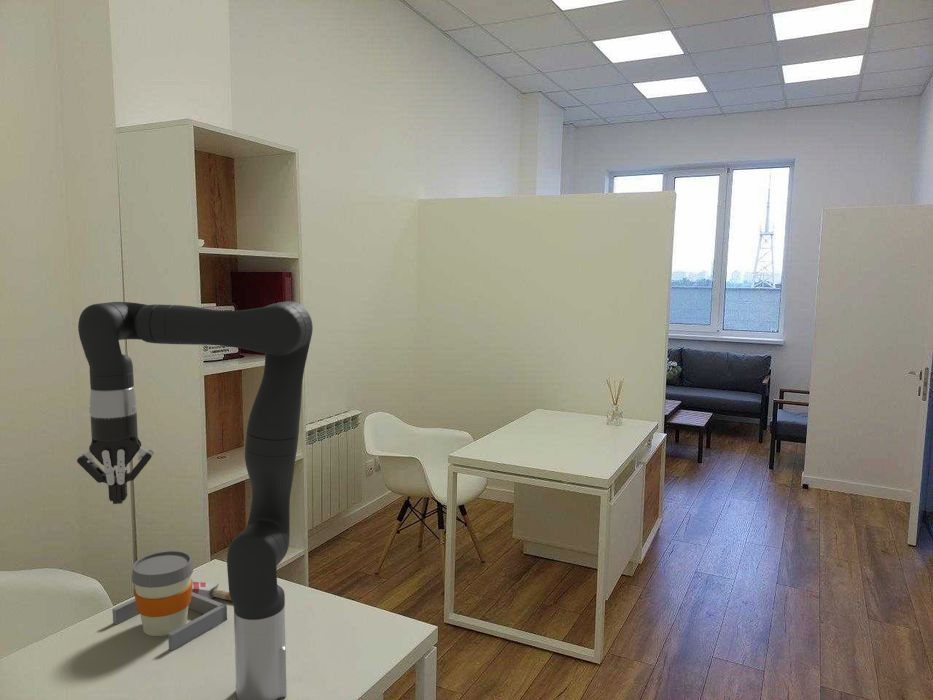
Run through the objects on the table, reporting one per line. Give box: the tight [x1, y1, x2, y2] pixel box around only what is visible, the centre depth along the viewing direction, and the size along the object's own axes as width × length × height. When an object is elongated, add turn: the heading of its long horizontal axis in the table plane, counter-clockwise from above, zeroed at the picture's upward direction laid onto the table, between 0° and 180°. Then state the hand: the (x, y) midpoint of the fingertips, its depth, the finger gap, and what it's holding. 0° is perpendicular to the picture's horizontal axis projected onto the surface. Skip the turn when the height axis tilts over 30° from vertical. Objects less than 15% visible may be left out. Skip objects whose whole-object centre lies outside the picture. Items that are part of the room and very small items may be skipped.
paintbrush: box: [192, 581, 232, 602], centre depth 163 cm, size 4×3×20 cm
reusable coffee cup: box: [131, 550, 194, 637], centre depth 150 cm, size 13×13×15 cm
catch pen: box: [111, 592, 228, 652], centre depth 152 cm, size 14×20×4 cm
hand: (118, 502), depth 125 cm, fingers closed
